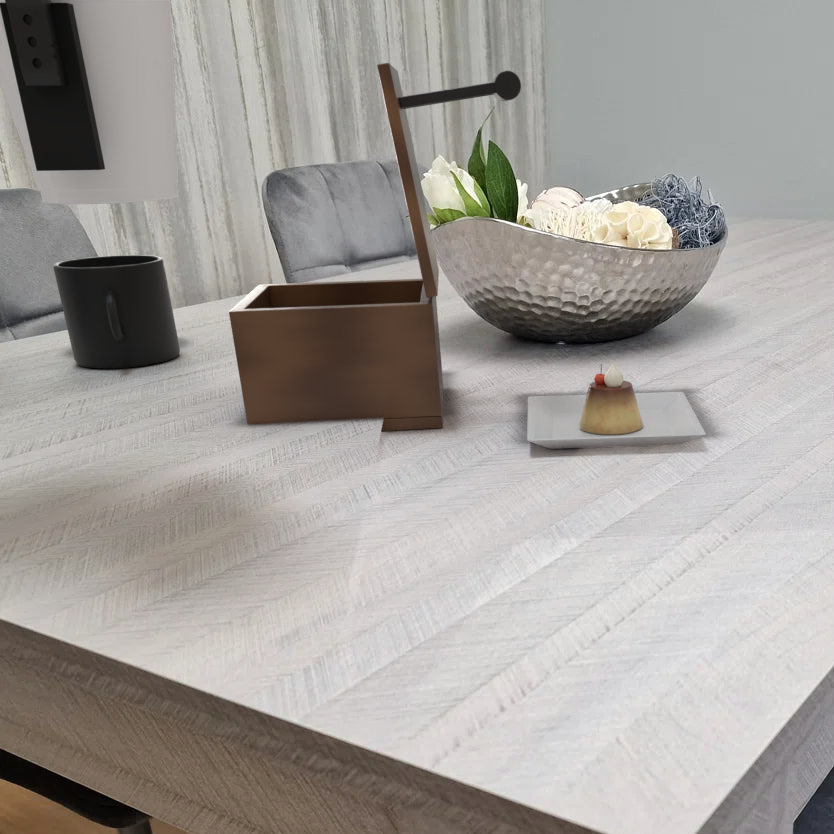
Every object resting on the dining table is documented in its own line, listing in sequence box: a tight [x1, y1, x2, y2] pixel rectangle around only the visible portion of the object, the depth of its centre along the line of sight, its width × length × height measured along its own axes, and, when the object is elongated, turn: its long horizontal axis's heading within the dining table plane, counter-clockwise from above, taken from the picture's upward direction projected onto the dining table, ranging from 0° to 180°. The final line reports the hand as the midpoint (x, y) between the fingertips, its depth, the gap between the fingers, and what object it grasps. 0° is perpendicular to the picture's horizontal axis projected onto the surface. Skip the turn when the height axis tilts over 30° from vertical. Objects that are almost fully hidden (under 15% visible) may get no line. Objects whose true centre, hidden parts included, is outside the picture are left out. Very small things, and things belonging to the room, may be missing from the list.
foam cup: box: [0, 0, 180, 205], centre depth 49 cm, size 10×9×13 cm
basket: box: [228, 278, 444, 432], centre depth 79 cm, size 14×13×9 cm
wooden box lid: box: [376, 62, 522, 298], centre depth 75 cm, size 15×13×9 cm
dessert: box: [526, 363, 707, 450], centre depth 74 cm, size 12×12×5 cm
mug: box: [52, 254, 181, 370], centre depth 97 cm, size 9×12×9 cm
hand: (104, 164), depth 51 cm, fingers closed on foam cup, 9 cm apart
